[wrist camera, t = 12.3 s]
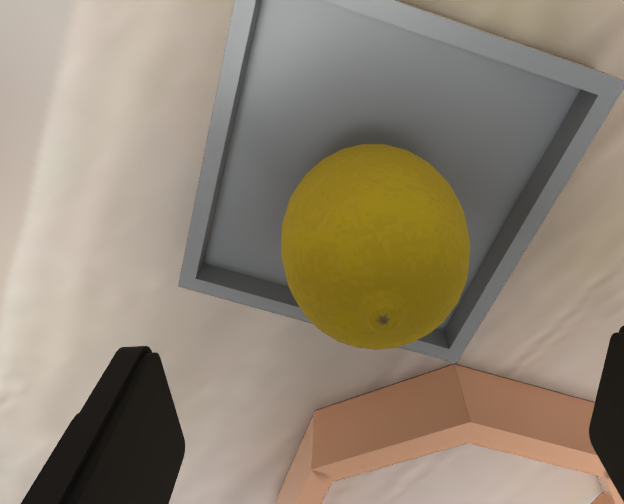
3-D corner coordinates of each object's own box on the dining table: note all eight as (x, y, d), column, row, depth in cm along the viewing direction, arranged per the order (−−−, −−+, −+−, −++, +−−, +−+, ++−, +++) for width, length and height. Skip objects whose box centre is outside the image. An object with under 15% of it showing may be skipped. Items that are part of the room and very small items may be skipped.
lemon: (421, 94, 17) (485, 180, 10) (452, 233, 19) (520, 380, 12) (269, 143, 18) (228, 253, 11) (317, 269, 20) (309, 424, 13)
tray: (447, 329, 23) (456, 362, 21) (192, 258, 22) (178, 286, 20) (595, 69, 17) (627, 82, 15) (256, -49, 16) (244, -52, 14)
